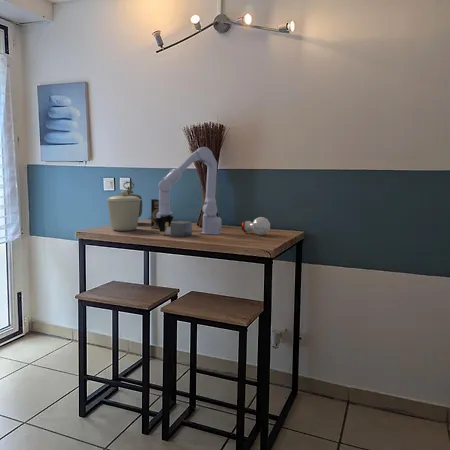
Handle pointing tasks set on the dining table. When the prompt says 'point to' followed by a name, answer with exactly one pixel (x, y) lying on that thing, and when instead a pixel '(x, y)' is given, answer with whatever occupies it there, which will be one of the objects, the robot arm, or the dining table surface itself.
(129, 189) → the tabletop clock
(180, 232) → the housing
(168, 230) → the lever
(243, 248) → the dining table surface
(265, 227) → the potion bottle
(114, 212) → the canister
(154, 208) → the coffee box
